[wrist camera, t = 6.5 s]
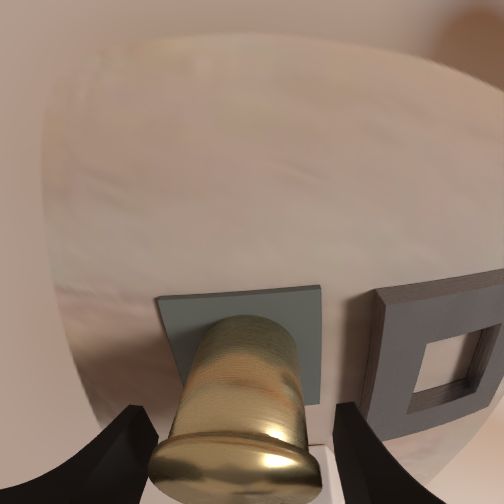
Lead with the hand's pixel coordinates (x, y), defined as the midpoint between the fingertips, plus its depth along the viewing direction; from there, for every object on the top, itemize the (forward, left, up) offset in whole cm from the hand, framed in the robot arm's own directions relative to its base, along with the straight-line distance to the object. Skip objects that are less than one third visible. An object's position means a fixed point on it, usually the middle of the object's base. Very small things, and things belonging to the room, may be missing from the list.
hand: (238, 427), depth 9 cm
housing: (-2, -11, -4) cm, 12 cm away
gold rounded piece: (0, 0, -4) cm, 4 cm away
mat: (0, 0, -4) cm, 4 cm away
